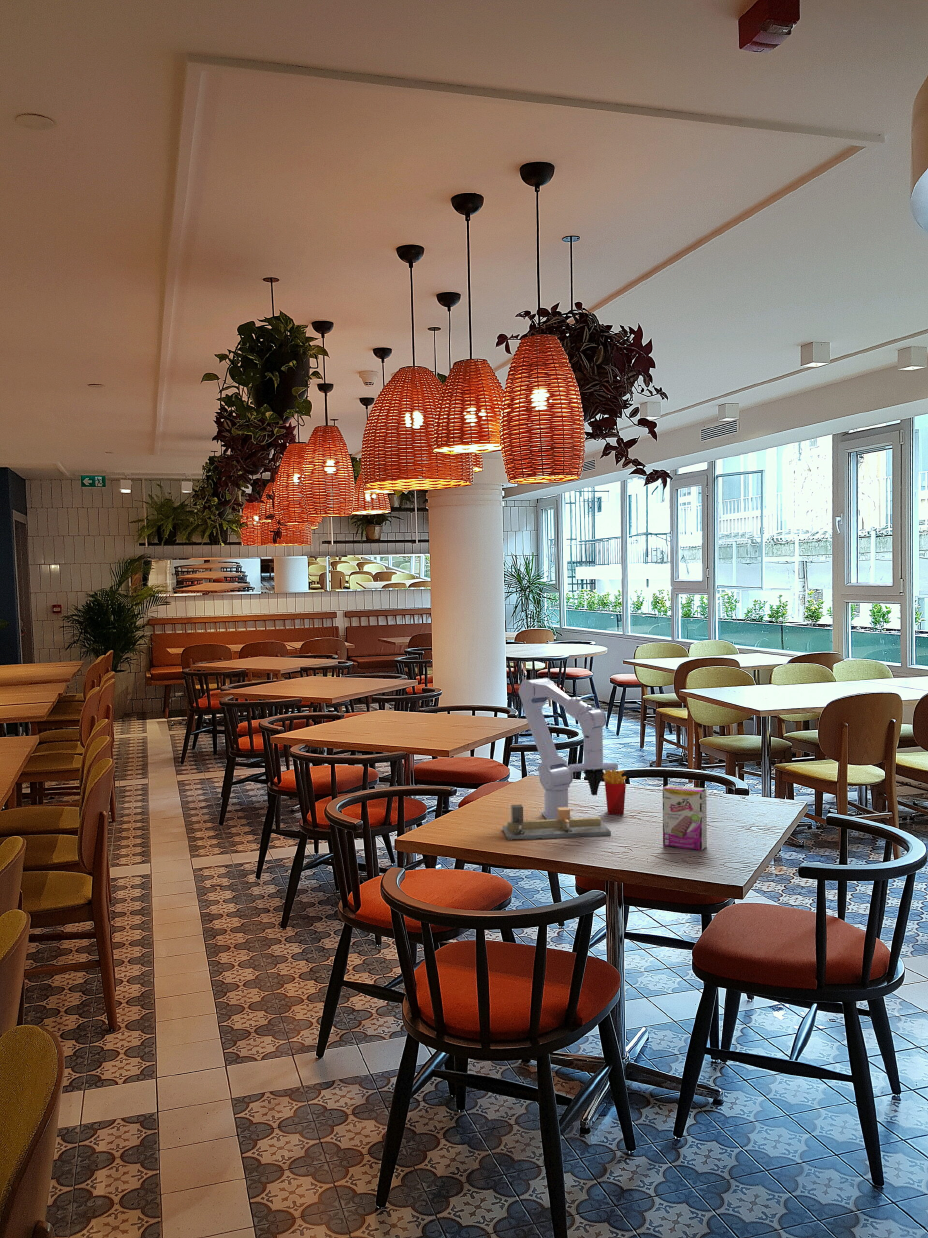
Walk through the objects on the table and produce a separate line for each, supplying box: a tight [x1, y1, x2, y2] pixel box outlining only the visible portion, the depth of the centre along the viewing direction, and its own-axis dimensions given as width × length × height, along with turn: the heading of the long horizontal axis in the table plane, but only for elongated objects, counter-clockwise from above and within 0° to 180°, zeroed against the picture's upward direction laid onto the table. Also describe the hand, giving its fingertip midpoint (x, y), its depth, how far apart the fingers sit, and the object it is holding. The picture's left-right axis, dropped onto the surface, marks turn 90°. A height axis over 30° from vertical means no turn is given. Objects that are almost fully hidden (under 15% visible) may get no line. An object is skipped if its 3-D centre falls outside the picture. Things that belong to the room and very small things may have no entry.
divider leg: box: [557, 806, 571, 830], centre depth 281 cm, size 8×3×5 cm, turn 5°
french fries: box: [602, 769, 627, 816], centre depth 301 cm, size 9×8×15 cm
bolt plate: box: [502, 804, 612, 841], centre depth 280 cm, size 12×30×8 cm, turn 95°
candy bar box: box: [662, 784, 708, 851], centre depth 262 cm, size 11×5×16 cm, turn 59°
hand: (594, 794), depth 287 cm, fingers closed
